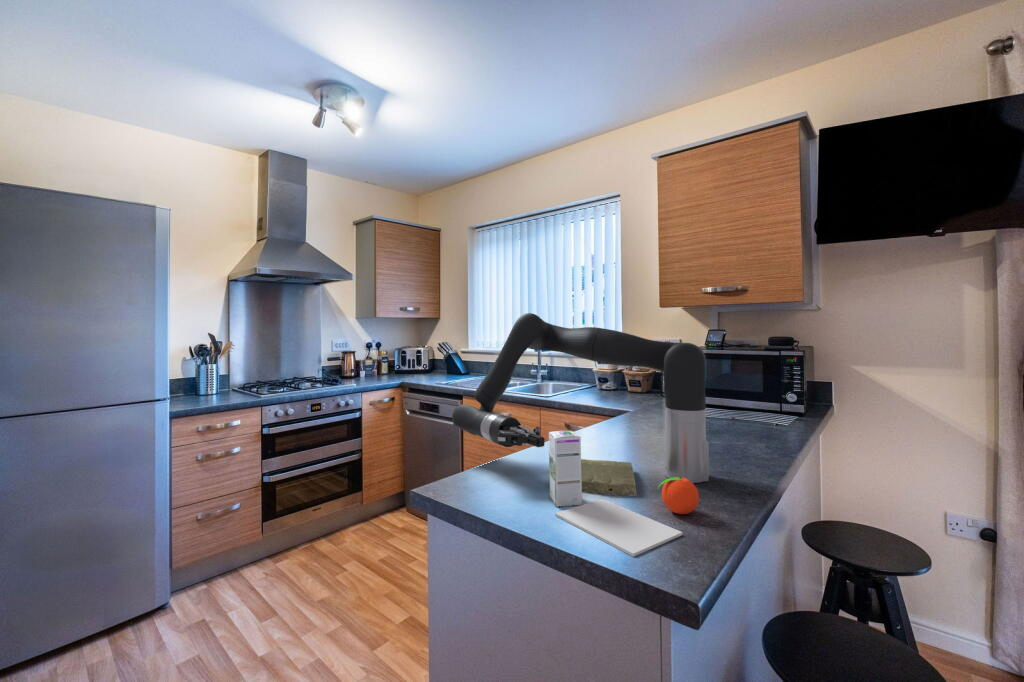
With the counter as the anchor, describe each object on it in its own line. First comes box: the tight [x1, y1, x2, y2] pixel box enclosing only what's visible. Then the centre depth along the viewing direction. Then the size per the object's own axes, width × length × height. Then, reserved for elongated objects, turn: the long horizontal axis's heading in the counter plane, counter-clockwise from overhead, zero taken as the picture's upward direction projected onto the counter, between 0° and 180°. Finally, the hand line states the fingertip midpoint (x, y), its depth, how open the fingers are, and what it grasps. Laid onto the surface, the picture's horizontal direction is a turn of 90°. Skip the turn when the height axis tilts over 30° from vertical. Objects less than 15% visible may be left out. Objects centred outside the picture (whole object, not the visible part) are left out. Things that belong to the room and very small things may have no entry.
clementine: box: [657, 477, 700, 515], centre depth 85 cm, size 8×7×7 cm
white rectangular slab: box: [554, 498, 683, 558], centre depth 80 cm, size 19×13×1 cm
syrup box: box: [548, 430, 583, 508], centre depth 91 cm, size 6×6×14 cm
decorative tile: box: [581, 458, 638, 497], centre depth 104 cm, size 19×20×4 cm
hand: (541, 442), depth 97 cm, fingers closed
